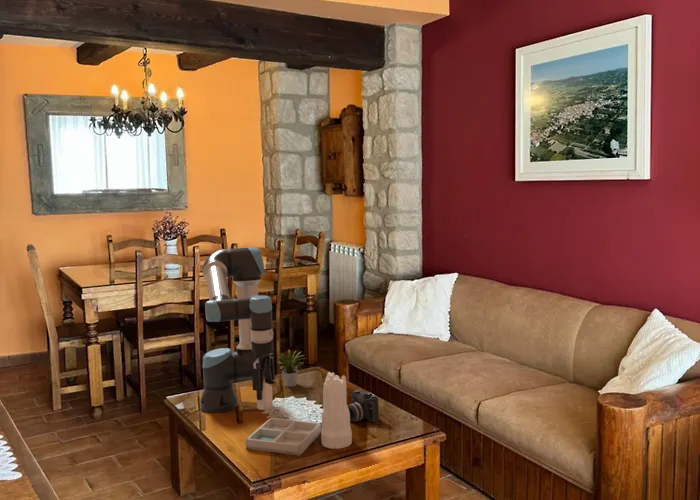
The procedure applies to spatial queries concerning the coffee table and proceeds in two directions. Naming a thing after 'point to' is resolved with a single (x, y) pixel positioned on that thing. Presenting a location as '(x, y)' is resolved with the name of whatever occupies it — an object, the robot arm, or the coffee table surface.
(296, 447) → the divided tray
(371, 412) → the camera
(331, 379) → the decorative vase
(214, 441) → the coffee table surface
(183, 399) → the coffee table surface
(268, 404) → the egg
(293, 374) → the house plant
